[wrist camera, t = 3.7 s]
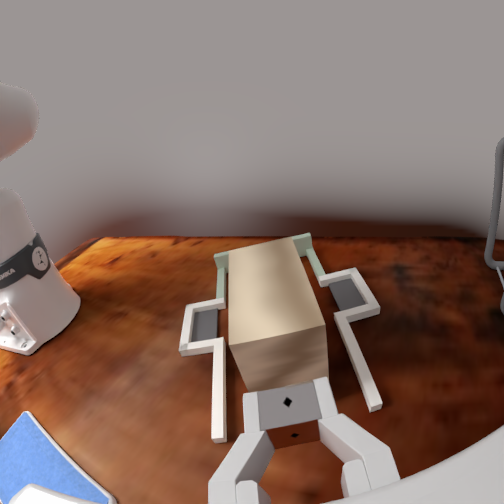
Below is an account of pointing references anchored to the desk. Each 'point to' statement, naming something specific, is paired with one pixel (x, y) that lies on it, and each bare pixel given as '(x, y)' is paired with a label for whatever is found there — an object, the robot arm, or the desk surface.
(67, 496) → the robot arm
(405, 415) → the desk surface
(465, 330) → the desk surface
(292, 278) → the maple block
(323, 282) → the box
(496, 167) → the newton's cradle
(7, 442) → the tablet computer
